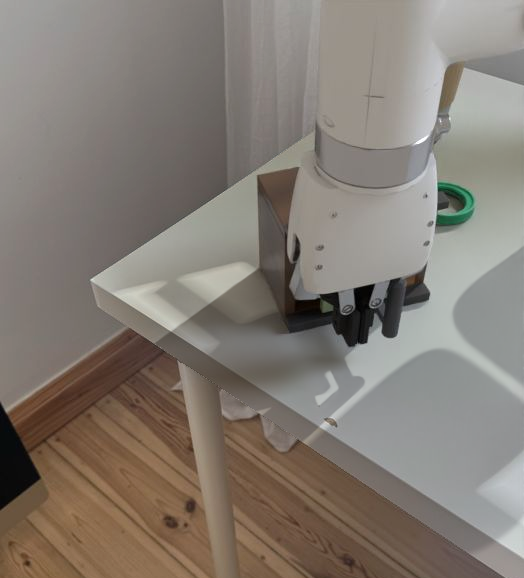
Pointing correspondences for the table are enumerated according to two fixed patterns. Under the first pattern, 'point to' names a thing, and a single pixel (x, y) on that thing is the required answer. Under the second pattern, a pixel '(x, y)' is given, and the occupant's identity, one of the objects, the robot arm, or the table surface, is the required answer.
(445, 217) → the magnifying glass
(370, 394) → the table surface
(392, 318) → the door
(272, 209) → the closet
